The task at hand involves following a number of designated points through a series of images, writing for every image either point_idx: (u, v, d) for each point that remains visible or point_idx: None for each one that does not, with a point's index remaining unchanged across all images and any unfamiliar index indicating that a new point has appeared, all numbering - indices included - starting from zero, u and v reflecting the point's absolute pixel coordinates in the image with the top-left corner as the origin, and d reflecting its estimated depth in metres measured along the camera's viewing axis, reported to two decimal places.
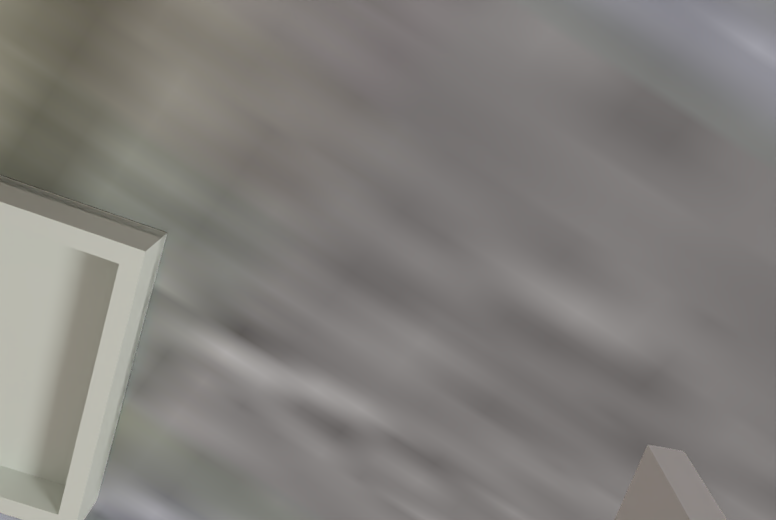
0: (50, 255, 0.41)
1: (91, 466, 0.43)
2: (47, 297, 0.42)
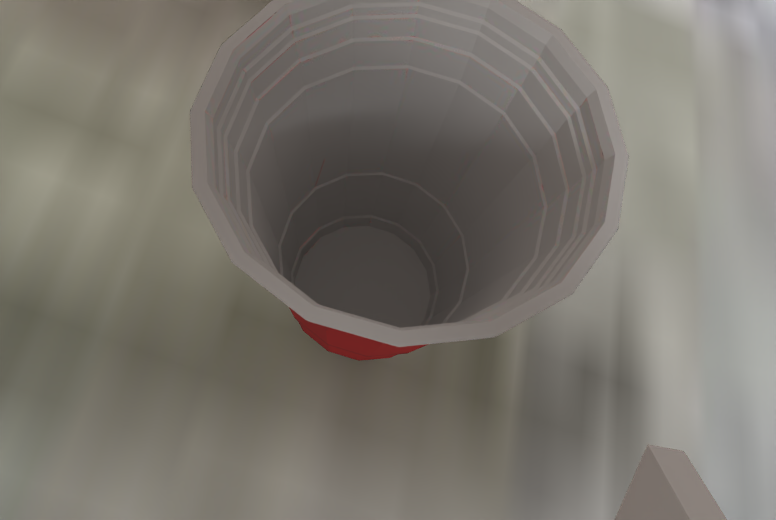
0: None
1: None
2: None
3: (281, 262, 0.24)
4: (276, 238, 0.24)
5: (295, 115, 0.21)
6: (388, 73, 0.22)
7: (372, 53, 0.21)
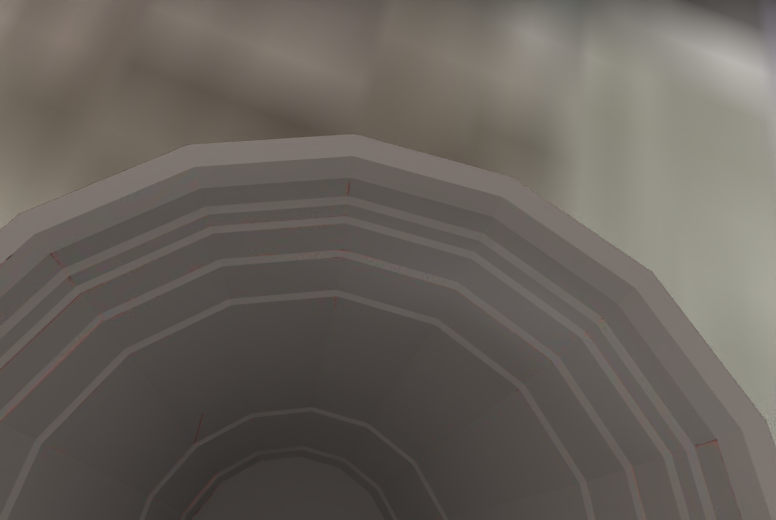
0: None
1: None
2: None
3: None
4: None
5: (114, 396, 0.11)
6: (300, 304, 0.11)
7: (262, 279, 0.11)
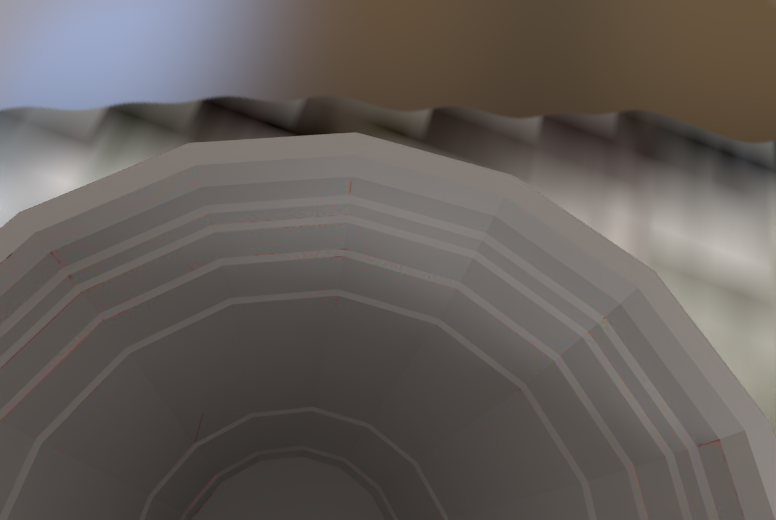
0: None
1: None
2: None
3: None
4: None
5: (114, 396, 0.11)
6: (300, 303, 0.11)
7: (263, 279, 0.11)
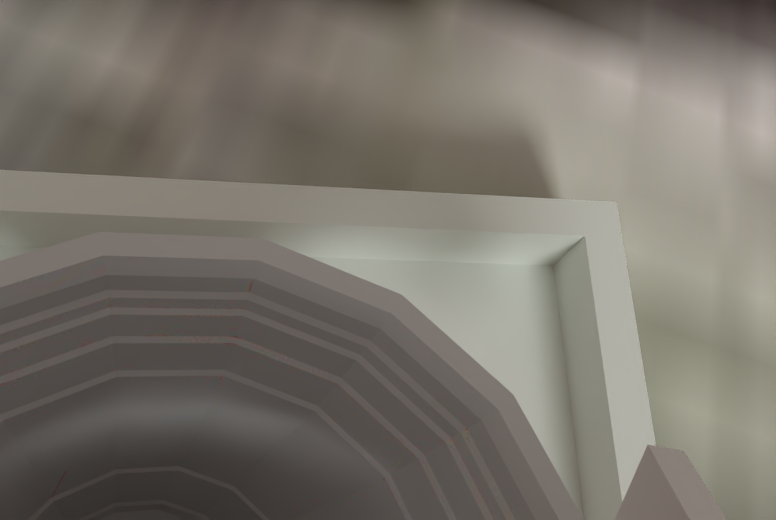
0: None
1: None
2: None
3: None
4: None
5: None
6: (185, 379, 0.12)
7: (152, 357, 0.11)
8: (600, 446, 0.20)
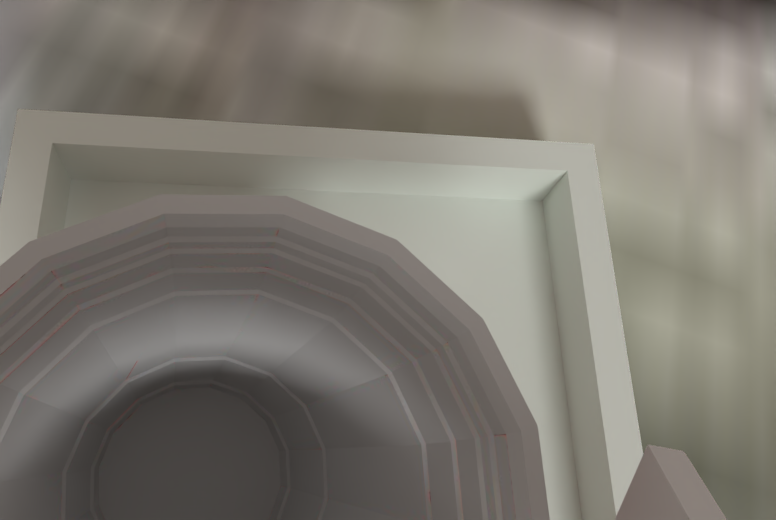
0: None
1: None
2: None
3: (64, 498, 0.17)
4: (57, 471, 0.17)
5: (77, 358, 0.14)
6: (229, 297, 0.15)
7: (202, 281, 0.14)
8: (579, 338, 0.24)
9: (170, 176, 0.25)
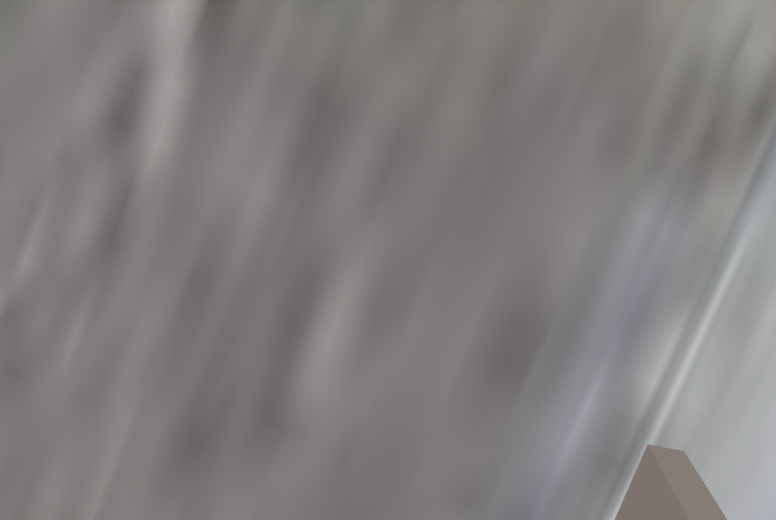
0: None
1: None
2: None
3: None
4: None
5: None
6: None
7: None
8: None
9: None
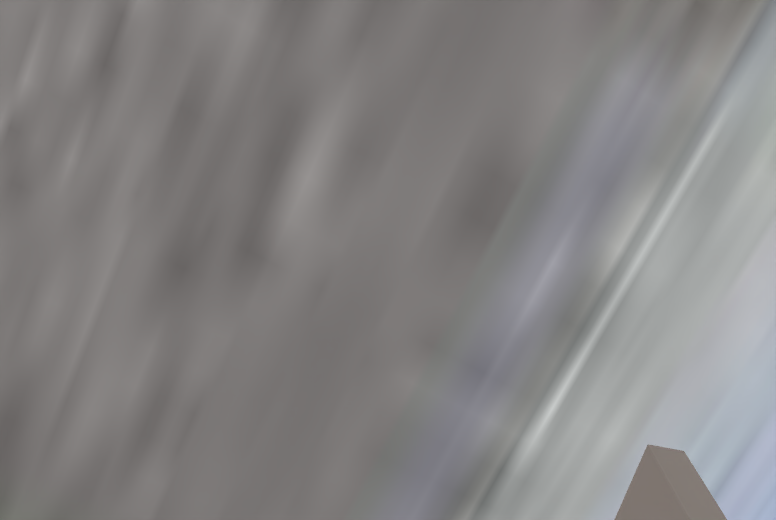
0: None
1: None
2: None
3: None
4: None
5: None
6: None
7: None
8: None
9: None
